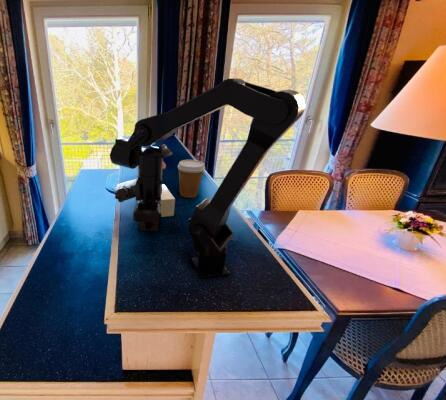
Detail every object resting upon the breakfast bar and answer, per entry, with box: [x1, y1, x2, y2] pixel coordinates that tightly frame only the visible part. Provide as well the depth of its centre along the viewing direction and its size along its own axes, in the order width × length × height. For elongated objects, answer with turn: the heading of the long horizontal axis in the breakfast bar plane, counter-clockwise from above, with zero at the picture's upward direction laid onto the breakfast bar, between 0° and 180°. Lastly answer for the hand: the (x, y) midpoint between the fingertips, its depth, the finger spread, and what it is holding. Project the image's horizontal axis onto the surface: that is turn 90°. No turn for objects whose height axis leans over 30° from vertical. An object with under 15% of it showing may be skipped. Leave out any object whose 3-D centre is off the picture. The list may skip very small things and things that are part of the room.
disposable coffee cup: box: [177, 159, 206, 199], centre depth 95 cm, size 10×10×12 cm
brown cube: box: [139, 222, 159, 232], centre depth 77 cm, size 5×5×5 cm
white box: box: [160, 183, 176, 218], centre depth 87 cm, size 13×10×8 cm
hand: (148, 228), depth 69 cm, fingers closed
